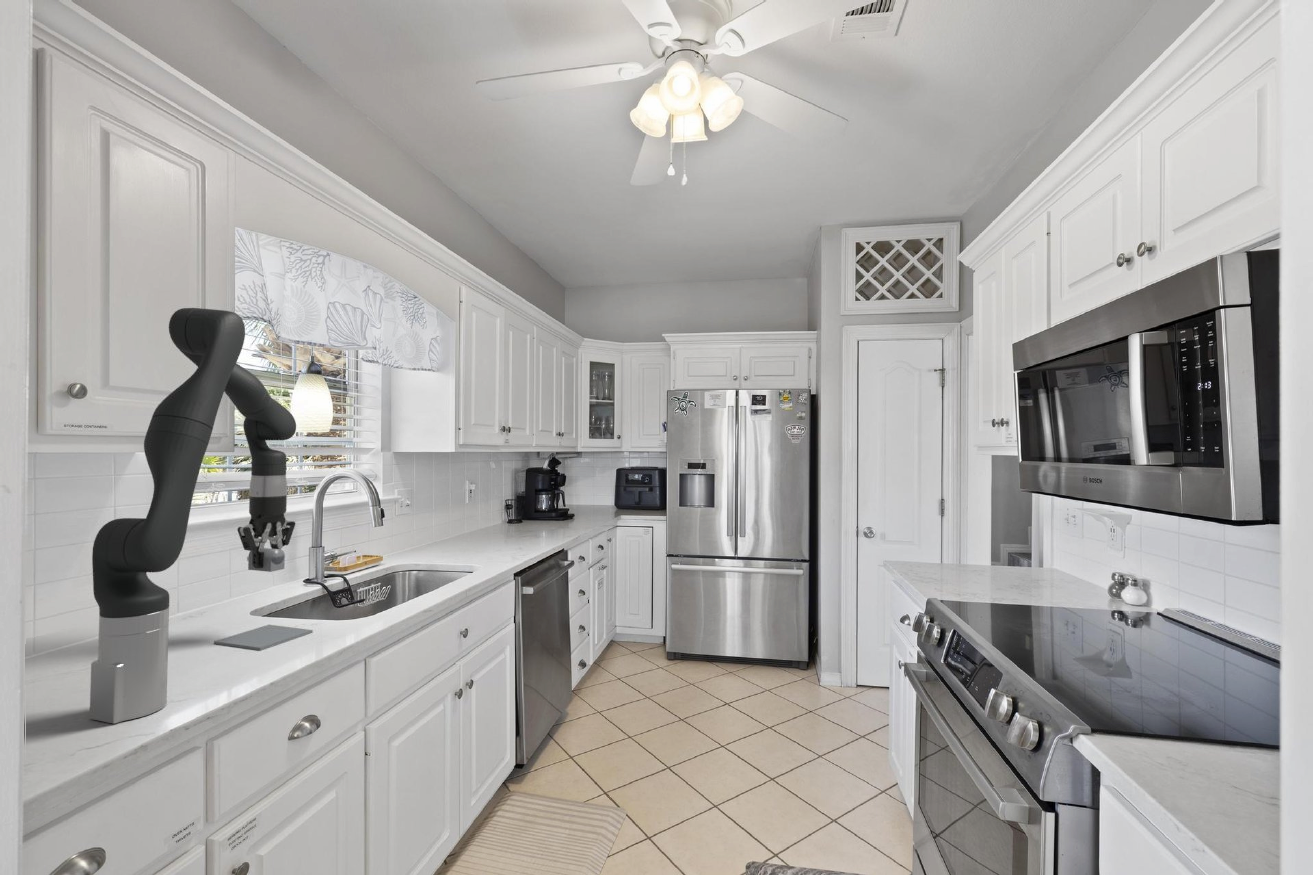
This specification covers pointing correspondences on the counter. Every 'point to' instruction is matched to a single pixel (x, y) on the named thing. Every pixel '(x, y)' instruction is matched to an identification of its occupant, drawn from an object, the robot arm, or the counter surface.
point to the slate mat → (263, 637)
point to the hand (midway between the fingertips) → (266, 565)
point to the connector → (269, 560)
